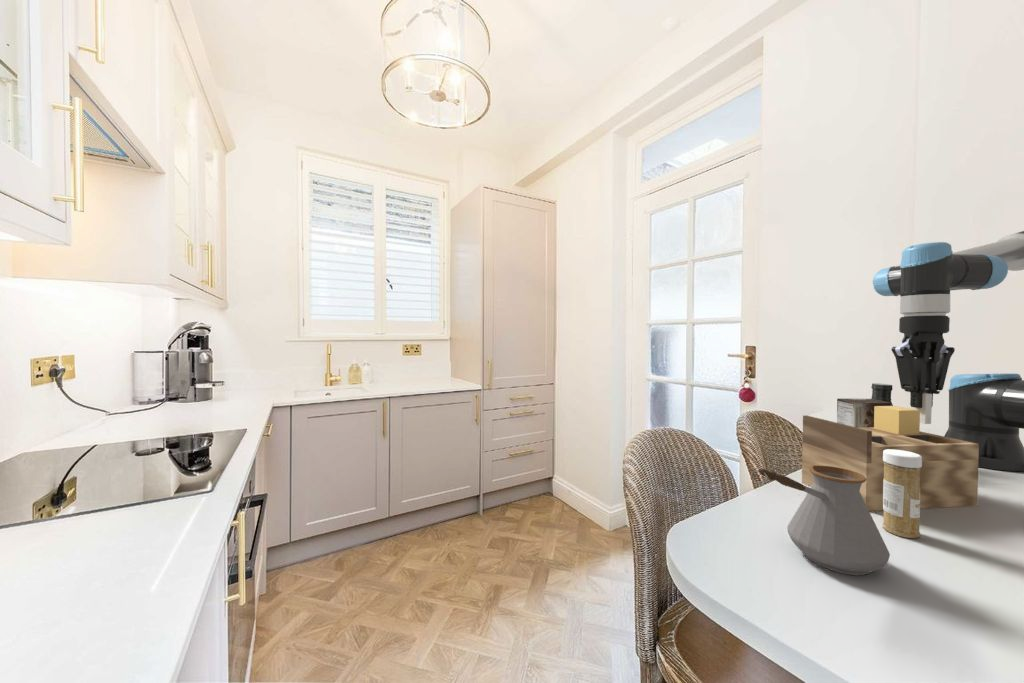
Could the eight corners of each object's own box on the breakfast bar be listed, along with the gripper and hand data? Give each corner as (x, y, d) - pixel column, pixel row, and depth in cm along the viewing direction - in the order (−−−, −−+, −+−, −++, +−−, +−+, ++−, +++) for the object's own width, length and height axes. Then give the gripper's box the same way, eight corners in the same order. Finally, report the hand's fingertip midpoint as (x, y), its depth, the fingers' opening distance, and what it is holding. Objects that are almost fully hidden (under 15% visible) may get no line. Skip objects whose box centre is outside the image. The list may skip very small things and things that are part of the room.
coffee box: (871, 458, 103) (872, 398, 103) (892, 466, 97) (894, 402, 96) (834, 457, 104) (835, 397, 104) (853, 465, 97) (854, 401, 97)
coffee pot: (820, 533, 64) (821, 443, 64) (909, 575, 53) (912, 466, 53) (719, 556, 57) (721, 456, 57) (798, 609, 46) (801, 485, 46)
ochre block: (893, 427, 87) (894, 405, 87) (919, 433, 82) (919, 410, 82) (873, 428, 86) (874, 406, 86) (898, 434, 81) (899, 410, 81)
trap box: (897, 478, 88) (899, 413, 88) (977, 505, 74) (979, 428, 74) (801, 482, 86) (803, 415, 86) (865, 511, 72) (867, 431, 72)
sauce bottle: (868, 458, 102) (869, 384, 102) (857, 452, 108) (859, 381, 108) (900, 462, 100) (902, 385, 99) (888, 455, 106) (889, 383, 105)
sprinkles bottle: (927, 541, 61) (929, 457, 61) (892, 536, 63) (893, 455, 63) (908, 527, 66) (909, 449, 66) (875, 523, 67) (876, 447, 67)
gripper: (929, 316, 89) (927, 418, 89) (879, 315, 87) (876, 419, 88) (971, 314, 81) (968, 426, 82) (917, 314, 80) (914, 427, 80)
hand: (920, 422), depth 85 cm, fingers closed
